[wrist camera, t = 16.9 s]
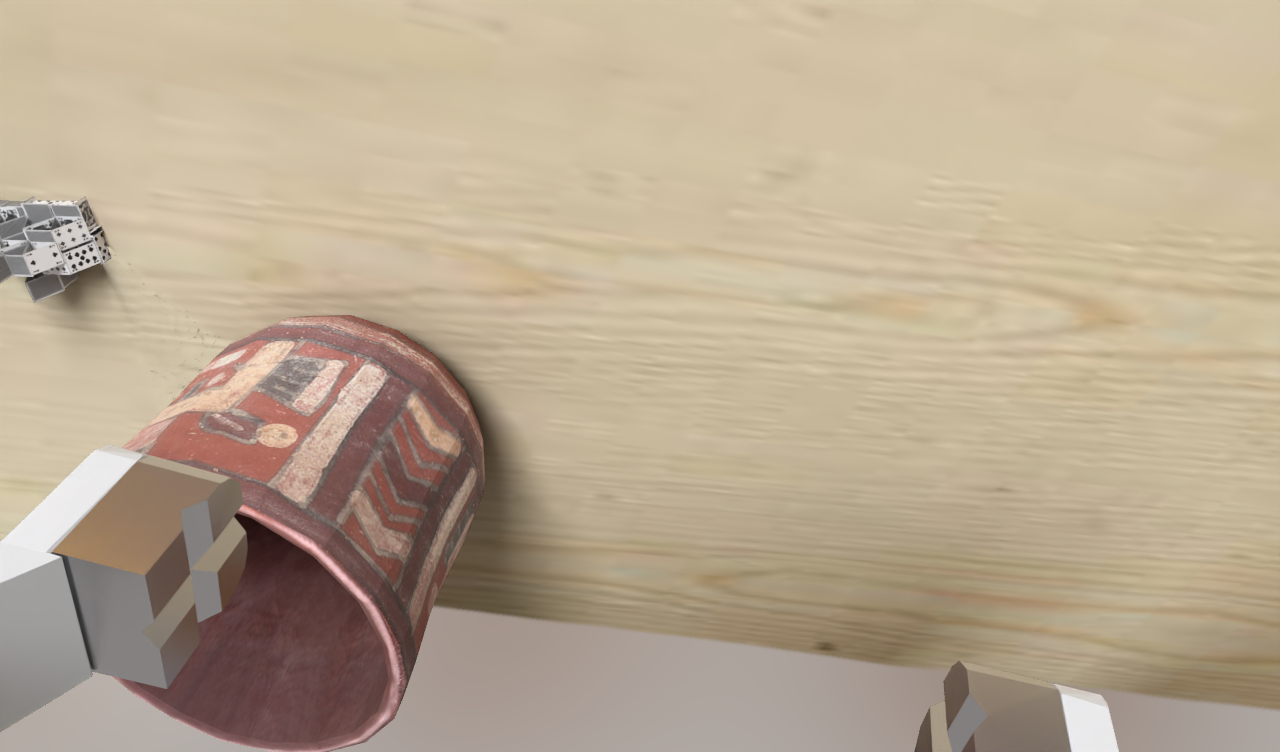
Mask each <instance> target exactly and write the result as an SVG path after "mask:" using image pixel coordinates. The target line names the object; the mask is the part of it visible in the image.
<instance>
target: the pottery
mask: <svg viewBox="0 0 1280 752" xmlns="http://www.w3.org/2000/svg"><path fill="white" fill-rule="evenodd" d="M122 448H124V449H128V450H131V451H135V452H139V453H142V454H146V455H152V456H155V457H159V458H162V459H166V460H170V461H173V462H177V463H180V464H184V465H187V466H191V467H195V468H198V469H202V470H205V471H209V472H212V473H216V474H220V475H223V476H227V477H230V478H233V479H235V480H237V481H239V482H240V485H241V491H242V498H243V505H242V506H241V508H240V509H239V510H238V512H237V513H236V514H235V516H234V517H235V519H236V520H237V521H238V522H239V524H240V525H241V526H242V527H243V529H244V530H245V531H246V533H247V545H248V550H247V557H246V564H245V568H244V571H243V573H242V576H241V578H240V581H239V583H238V586H237V588H236V591H235V592H234V594H233V595H232V597H231V598H230V600H229V601H228V603H227V604H226V606H225V607H224V609H223V610H222V611H221V612H219V613H217V614H215V615H213V616H211V617H209V618H207V619H205V620H203V621H201V622H199V623H198V626H199V634H200V641H201V642H200V643H199V645H198V646H197V648H196V649H195V650H194V652H193V653H192V655H191V656H190V657H189V659H188V660H187V662H186V663H185V665H184V666H183V667H182V669H181V670H180V672H179V673H178V674H177V676H176V677H175V679H174V680H173V681H172V683H171V684H170V686H169V687H168V689H165V688H160V687H156V686H152V685H148V684H143V683H139V682H135V681H131V680H126V679H122V678H118V677H114V676H113V677H114V678H115V679H116V680H118V681H119V682H120V683H121V684H122V685H124V686H125V687H126V688H127V689H128V690H130V691H131V692H132V693H133V694H135V695H136V696H138V697H139V698H141V699H143V700H145V701H146V702H148V703H149V704H151V705H152V706H154V707H156V708H157V709H159V710H161V711H162V712H164V713H166V714H167V715H169V716H170V717H172V718H174V719H175V720H177V721H179V722H181V723H184V724H186V725H188V726H190V727H193V728H195V729H197V730H199V731H202V732H204V733H206V734H208V735H211V736H213V737H215V738H218V739H220V740H222V741H227V742H232V743H236V744H240V745H244V746H249V747H253V748H258V749H262V750H266V751H271V752H329V751H333V750H336V749H341V748H344V747H348V746H352V745H356V744H360V743H364V742H366V741H367V740H369V739H370V738H371V737H372V736H373V735H375V734H376V733H377V732H378V731H379V730H381V729H382V728H383V727H384V726H386V725H387V724H388V723H389V722H391V721H392V720H393V719H394V717H395V715H396V713H397V711H398V708H399V706H400V704H401V701H402V699H403V696H404V693H405V691H406V688H407V685H408V682H409V679H410V676H411V673H412V671H413V668H414V665H415V662H416V658H417V655H418V652H419V649H420V645H421V642H422V639H423V635H424V631H425V628H426V625H427V621H428V618H429V615H430V612H431V610H432V607H433V604H434V602H435V599H436V597H437V595H438V593H439V591H440V589H441V587H442V585H443V583H444V581H445V579H446V577H447V575H448V573H449V571H450V569H451V567H452V565H453V563H454V561H455V559H456V557H457V555H458V553H459V551H460V549H461V547H462V545H463V543H464V541H465V539H466V536H467V534H468V531H469V529H470V526H471V524H472V521H473V518H474V516H475V513H476V511H477V508H478V506H479V503H480V500H481V497H482V495H483V492H484V484H485V467H484V449H483V438H482V434H481V430H480V426H479V422H478V420H477V417H476V415H475V413H474V410H473V408H472V405H471V403H470V401H469V398H468V396H467V394H466V391H465V390H464V389H463V388H462V387H461V385H460V384H459V383H458V382H457V381H456V380H455V378H454V377H453V376H452V375H451V374H450V372H449V371H448V370H447V369H446V368H445V366H444V365H443V364H442V363H441V362H440V360H439V359H438V358H437V357H436V356H435V355H434V354H432V353H431V352H429V351H428V350H426V349H425V348H423V347H422V346H420V345H419V344H417V343H416V342H414V341H413V340H411V339H410V338H408V337H407V336H405V335H404V334H402V333H401V332H399V331H397V330H394V329H391V328H388V327H385V326H382V325H379V324H376V323H373V322H370V321H367V320H364V319H361V318H358V317H355V316H352V315H339V316H305V317H294V318H287V319H285V320H283V321H280V322H278V323H276V324H274V325H271V326H269V327H267V328H264V329H262V330H260V331H257V332H255V333H253V334H250V335H248V336H246V337H244V338H242V339H239V340H237V341H235V342H233V343H231V344H230V345H229V346H228V347H227V348H225V349H224V350H223V351H222V352H221V353H220V354H219V355H217V356H216V357H215V358H214V359H213V360H212V361H211V362H210V363H209V364H208V365H207V366H206V368H205V369H204V370H203V371H202V372H201V373H200V374H199V375H198V376H197V377H196V378H195V379H194V380H193V381H192V382H191V383H190V384H189V385H188V386H187V387H186V388H185V389H184V391H183V392H182V393H181V394H180V395H179V396H178V397H177V398H176V399H175V400H174V401H173V402H172V403H171V404H170V405H169V406H168V407H167V408H165V409H164V410H163V411H162V412H161V413H160V414H159V415H158V416H157V417H156V418H155V419H154V420H152V421H151V422H150V423H149V424H148V425H147V426H146V427H145V428H144V429H143V430H142V431H141V432H140V433H138V434H137V435H136V436H135V437H134V438H133V439H132V440H131V441H129V442H128V443H127V444H125V445H124V446H123V447H122Z"/></svg>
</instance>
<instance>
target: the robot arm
mask: <svg viewBox="0 0 1280 752" xmlns="http://www.w3.org/2000/svg"><path fill="white" fill-rule="evenodd" d="M242 505H243V498H242V491H241V485H240V482H239V481H237V480H235V479H233V478H230V477H227V476H223V475H220V474H216V473H212V472H209V471H205V470H202V469H198V468H195V467H191V466H187V465H184V464H180V463H177V462H173V461H170V460H166V459H162V458H159V457H155V456H152V455H146V454H142V453H139V452H135V451H131V450H128V449H124V448H120V447H117V446H113V445H107V446H104V447H102V448H99V449H97V450H95V451H93V452H92V453H91V454H90V455H89V456H88V457H87V458H86V459H85V460H84V461H83V462H82V463H81V464H80V465H79V466H78V467H77V468H76V469H75V470H74V471H73V472H72V473H71V474H69V475H68V476H67V477H66V478H65V479H64V480H63V481H62V482H61V483H60V484H59V485H58V486H57V487H56V488H55V489H54V490H53V491H52V492H51V493H50V494H49V495H48V496H47V497H46V498H45V499H44V500H43V501H42V502H41V503H40V504H39V505H38V506H37V507H36V508H35V509H34V510H33V511H32V512H31V513H30V514H29V515H27V516H26V517H25V518H24V519H23V520H22V521H21V522H20V523H19V524H18V525H17V526H16V527H15V528H14V529H13V530H12V531H11V532H10V533H9V534H8V535H7V536H6V537H5V538H4V539H3V540H2V541H1V540H0V732H1V731H3V730H5V729H6V728H8V727H10V726H11V725H13V724H15V723H16V722H18V721H19V720H21V719H23V718H24V717H26V716H28V715H29V714H31V713H33V712H34V711H36V710H37V709H39V708H41V707H42V706H44V705H46V704H47V703H49V702H51V701H52V700H54V699H56V698H57V697H59V696H61V695H62V694H64V693H65V692H67V691H69V690H70V689H72V688H74V687H75V686H77V685H78V684H80V683H82V682H83V681H85V680H87V679H88V678H90V677H92V675H93V674H92V671H93V672H98V673H101V674H106V675H110V676H114V677H118V678H122V679H126V680H131V681H135V682H139V683H143V684H148V685H152V686H156V687H160V688H165V689H168V687H169V686H170V684H171V683H172V681H173V680H174V679H175V677H176V676H177V674H178V673H179V672H180V670H181V669H182V667H183V666H184V665H185V663H186V662H187V660H188V659H189V657H190V656H191V655H192V653H193V652H194V650H195V649H196V648H197V646H198V645H199V643H200V642H201V641H200V634H199V626H198V623H199V622H201V621H203V620H205V619H207V618H209V617H211V616H213V615H215V614H217V613H219V612H221V611H222V610H223V609H224V607H225V606H226V604H227V603H228V601H229V600H230V598H231V597H232V595H233V594H234V592H235V591H236V588H237V586H238V583H239V581H240V578H241V576H242V573H243V571H244V568H245V564H246V557H247V550H248V545H247V533H246V531H245V530H244V529H243V527H242V526H241V525H240V524H239V522H238V521H237V520H236V519H235V517H234V516H235V514H236V513H237V512H238V510H239V509H240V508H241V506H242ZM944 692H945V693H944V694H945V700H944V701H942V702H940V703H938V704H935V705H933V706H931V707H930V708H929V710H928V712H927V714H926V716H925V719H924V721H923V723H922V725H921V727H920V731H919V736H918V739H917V744H916V748H915V752H1119V749H1118V744H1117V740H1116V736H1115V732H1114V728H1113V724H1112V720H1111V716H1110V711H1109V708H1108V704H1107V703H1106V701H1105V700H1104V699H1103V697H1102V696H1101V695H1099V694H1094V693H1090V692H1086V691H1082V690H1078V689H1074V688H1070V687H1066V686H1062V685H1058V684H1050V683H1049V682H1047V681H1043V680H1039V679H1035V678H1031V677H1026V676H1022V675H1018V674H1014V673H1010V672H1006V671H1001V670H997V669H993V668H989V667H985V666H981V665H977V664H972V663H968V662H964V661H958V662H957V663H956V664H955V665H953V666H952V667H951V669H950V671H949V673H948V675H947V677H946V678H945V680H944Z"/></svg>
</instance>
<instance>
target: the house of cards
mask: <svg viewBox="0 0 1280 752" xmlns="http://www.w3.org/2000/svg"><path fill="white" fill-rule="evenodd" d="M99 227H101V226H97V225H96V222H95V220H94V217H93V215H92V212H91V210H90V207H89V205H88V202H87V200H86V197H84V198H82V199H80V200H79V201H36V200H35V197H32V198H30V199H29V200H27V201H10V200H0V284H1V283H2V282H4V281H5V280H7V279H8V278H10V277H11V276H27V278H26V281H25V284H26V287H27V289H28V291H29V293H30V295H31V297H32V300H33V302H34V303H36V302H38V301H40V300H43V299H45V298H48V297H50V296H53V295H55V294H58V293H60V292H63V291H65V288H66V287H67V286H68V285H70V284H71V283H72V282H74V281H75V280H76V279H78V278H79V275H78V273H77V272H78V271H81V270H83V269H86V268H88V267H91V266H93V265H96V264H101V265H103V264H104V263H105V262H107V261H108V260H109V259H111V255H110V253H109V250H108V248H107V245H106V243H105V240H104V238H103V235H102V233H101V232H102V231H103V230H96V229H98V228H99Z"/></svg>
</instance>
